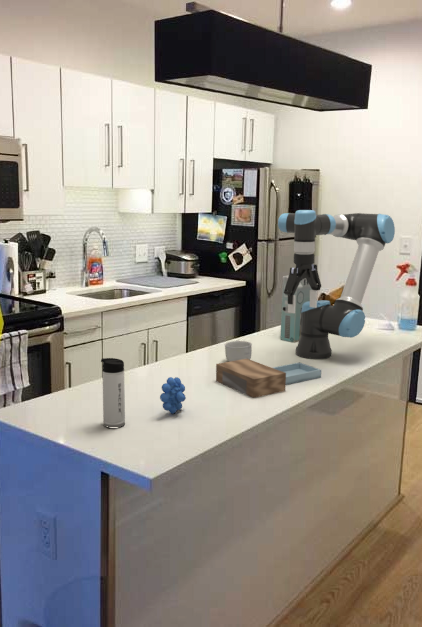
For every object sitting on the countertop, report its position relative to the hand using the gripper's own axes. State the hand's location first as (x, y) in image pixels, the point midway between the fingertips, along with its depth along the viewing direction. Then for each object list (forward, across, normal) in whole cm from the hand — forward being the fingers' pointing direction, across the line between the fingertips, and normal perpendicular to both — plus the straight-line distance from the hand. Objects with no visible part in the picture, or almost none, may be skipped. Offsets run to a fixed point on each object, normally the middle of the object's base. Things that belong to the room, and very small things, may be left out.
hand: (302, 309), depth 232 cm
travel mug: (+23, +83, -7) cm, 87 cm away
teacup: (+25, +4, -28) cm, 38 cm away
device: (+26, -46, -36) cm, 64 cm away
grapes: (+23, +64, -1) cm, 68 cm away
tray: (+25, +7, 0) cm, 26 cm away
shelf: (+24, +26, -3) cm, 35 cm away
